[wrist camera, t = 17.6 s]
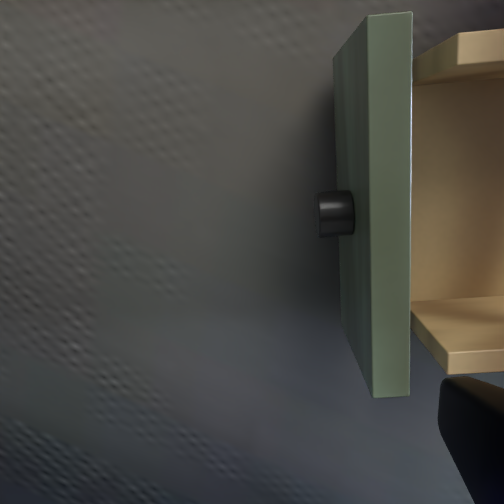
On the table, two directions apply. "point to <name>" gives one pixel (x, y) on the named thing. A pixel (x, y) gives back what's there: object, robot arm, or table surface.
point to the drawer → (418, 200)
